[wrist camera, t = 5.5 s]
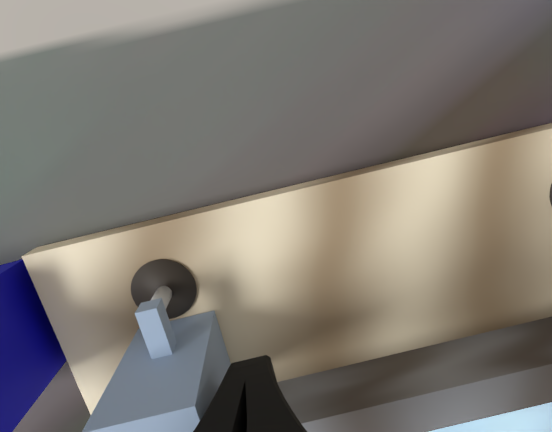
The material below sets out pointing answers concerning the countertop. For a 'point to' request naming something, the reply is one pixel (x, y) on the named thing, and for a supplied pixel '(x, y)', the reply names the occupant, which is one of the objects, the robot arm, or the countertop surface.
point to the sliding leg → (163, 373)
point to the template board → (344, 287)
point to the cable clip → (23, 345)
